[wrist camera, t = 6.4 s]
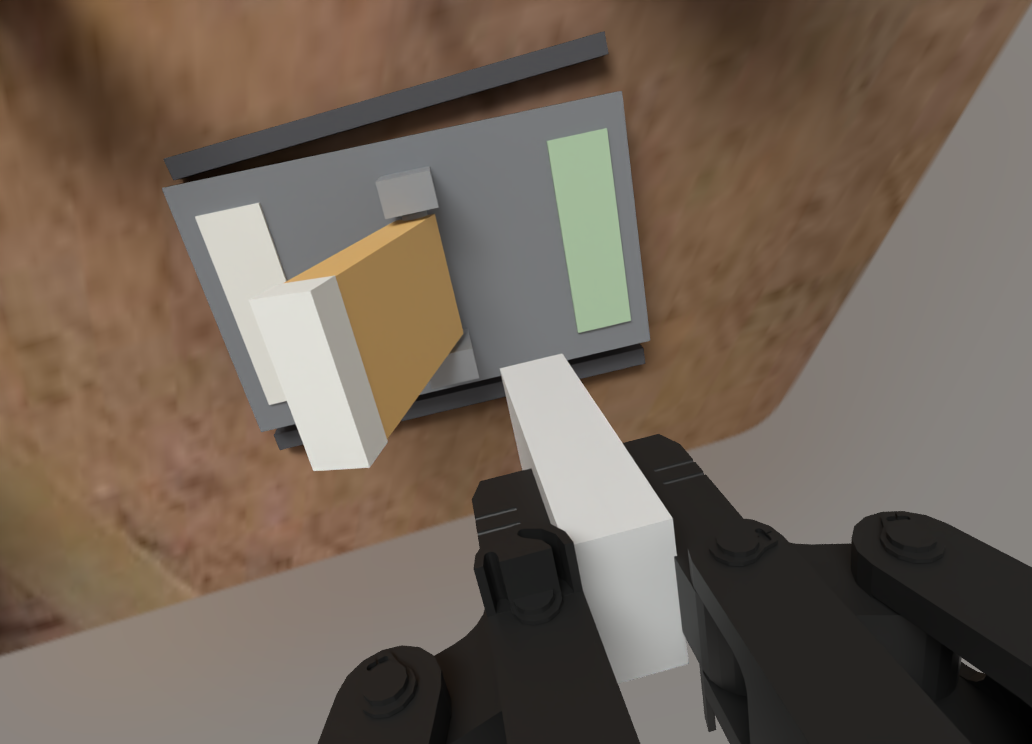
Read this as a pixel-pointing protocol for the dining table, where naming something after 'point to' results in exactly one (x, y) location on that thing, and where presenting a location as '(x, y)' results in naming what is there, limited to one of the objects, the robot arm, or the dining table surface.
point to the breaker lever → (361, 338)
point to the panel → (463, 230)
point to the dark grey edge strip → (491, 389)
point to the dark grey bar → (386, 106)
